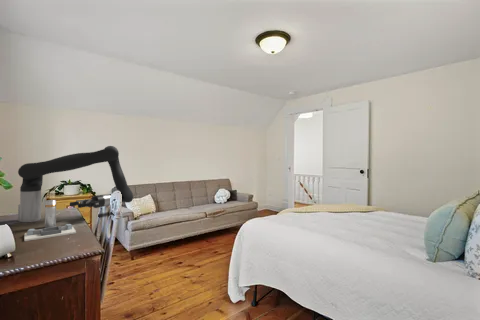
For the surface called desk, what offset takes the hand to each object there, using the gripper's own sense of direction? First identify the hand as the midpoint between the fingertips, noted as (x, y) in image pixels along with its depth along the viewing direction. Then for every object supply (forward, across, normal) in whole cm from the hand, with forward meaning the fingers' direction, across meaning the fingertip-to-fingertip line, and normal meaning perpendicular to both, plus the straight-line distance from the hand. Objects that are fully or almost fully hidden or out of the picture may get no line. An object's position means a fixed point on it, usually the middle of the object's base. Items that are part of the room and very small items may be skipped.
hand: (74, 205), depth 139 cm
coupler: (+12, 0, +10) cm, 15 cm away
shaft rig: (+17, +13, +10) cm, 24 cm away
